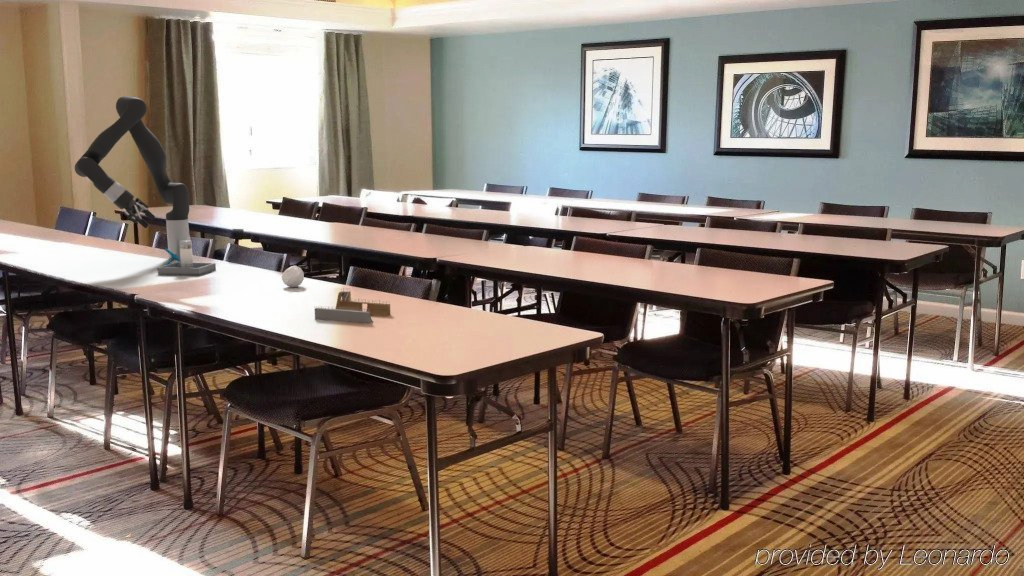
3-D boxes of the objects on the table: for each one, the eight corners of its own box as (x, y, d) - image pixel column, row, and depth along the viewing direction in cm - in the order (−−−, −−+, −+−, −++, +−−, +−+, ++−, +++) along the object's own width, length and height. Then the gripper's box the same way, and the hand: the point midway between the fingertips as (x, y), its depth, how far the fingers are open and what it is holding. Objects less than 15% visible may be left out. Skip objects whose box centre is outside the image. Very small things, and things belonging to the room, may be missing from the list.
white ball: (278, 287, 344) (277, 266, 342) (293, 284, 350) (292, 263, 348) (293, 289, 339) (292, 268, 338) (309, 286, 345) (308, 265, 344)
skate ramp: (292, 323, 287) (291, 299, 285) (351, 302, 319) (350, 280, 318) (376, 330, 276) (375, 305, 275) (429, 308, 308) (428, 285, 307)
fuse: (184, 269, 380) (183, 240, 379) (195, 269, 380) (193, 240, 378) (178, 271, 376) (177, 241, 374) (189, 271, 375) (187, 241, 373)
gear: (186, 262, 393) (167, 246, 390) (176, 273, 392) (157, 257, 389) (185, 262, 404) (166, 247, 401) (175, 273, 402) (156, 257, 399)
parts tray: (176, 269, 386) (175, 262, 386) (215, 270, 383) (215, 263, 382) (158, 274, 373) (157, 267, 372) (199, 275, 370) (198, 268, 369)
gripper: (119, 195, 374) (151, 223, 380) (130, 183, 387) (161, 210, 393) (107, 207, 376) (139, 235, 382) (118, 194, 389) (149, 221, 395)
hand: (150, 222), depth 387 cm, fingers open, 8 cm apart
